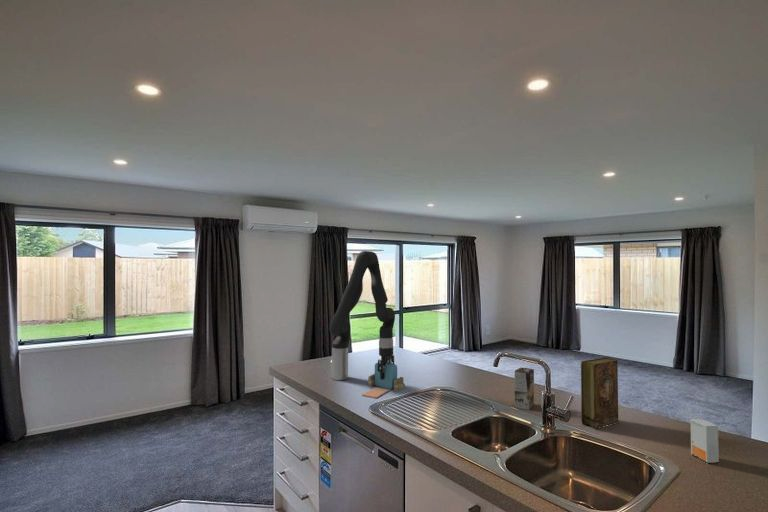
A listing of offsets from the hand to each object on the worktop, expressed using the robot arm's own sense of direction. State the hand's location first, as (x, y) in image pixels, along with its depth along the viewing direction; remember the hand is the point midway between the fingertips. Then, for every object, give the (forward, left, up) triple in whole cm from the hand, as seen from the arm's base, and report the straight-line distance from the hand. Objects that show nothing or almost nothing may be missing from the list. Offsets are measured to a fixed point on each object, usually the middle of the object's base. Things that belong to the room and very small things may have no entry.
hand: (386, 377), depth 200 cm
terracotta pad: (+1, -12, -5) cm, 13 cm away
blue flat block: (0, 0, -5) cm, 5 cm away
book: (+98, 0, -5) cm, 98 cm away
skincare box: (+127, -17, -5) cm, 128 cm away
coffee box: (+68, +6, -5) cm, 68 cm away
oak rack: (0, 0, -5) cm, 5 cm away
